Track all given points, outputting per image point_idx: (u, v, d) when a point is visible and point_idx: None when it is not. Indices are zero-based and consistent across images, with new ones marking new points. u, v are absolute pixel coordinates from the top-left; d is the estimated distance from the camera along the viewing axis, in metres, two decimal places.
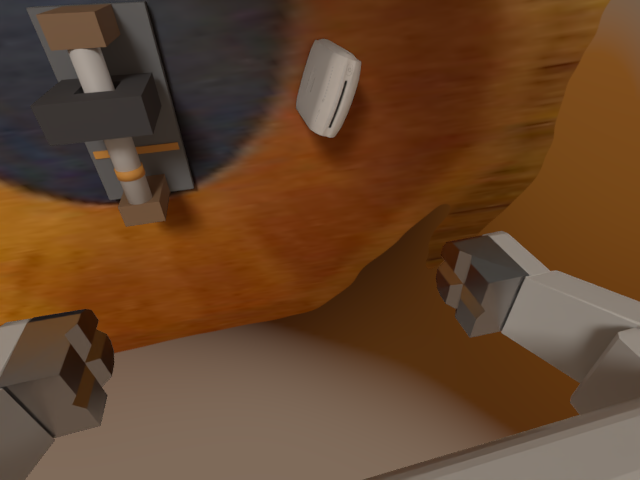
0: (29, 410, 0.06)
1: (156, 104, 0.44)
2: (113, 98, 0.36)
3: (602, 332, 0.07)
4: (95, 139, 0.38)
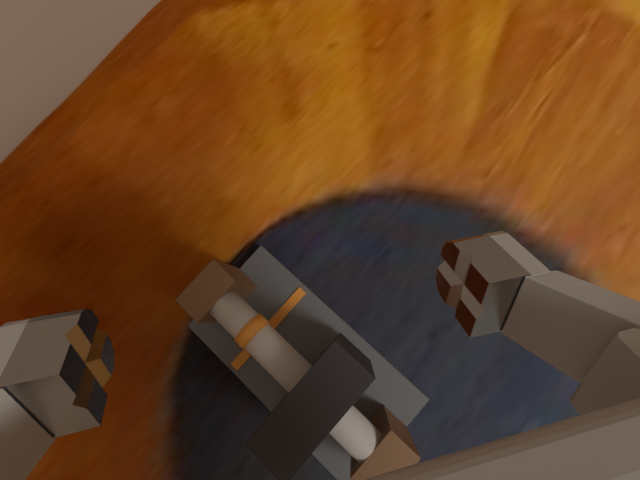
0: (29, 410, 0.06)
1: None
2: (308, 456, 0.27)
3: (602, 332, 0.07)
4: (297, 386, 0.27)
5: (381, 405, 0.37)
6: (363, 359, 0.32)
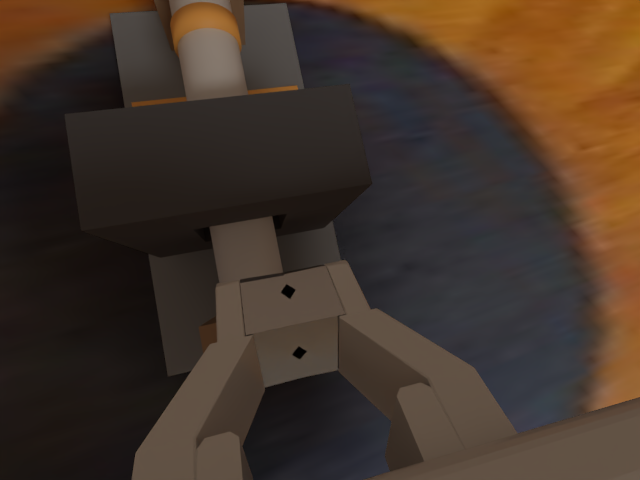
0: (260, 358, 0.07)
1: None
2: (166, 216, 0.12)
3: (405, 382, 0.06)
4: (236, 99, 0.13)
5: None
6: None
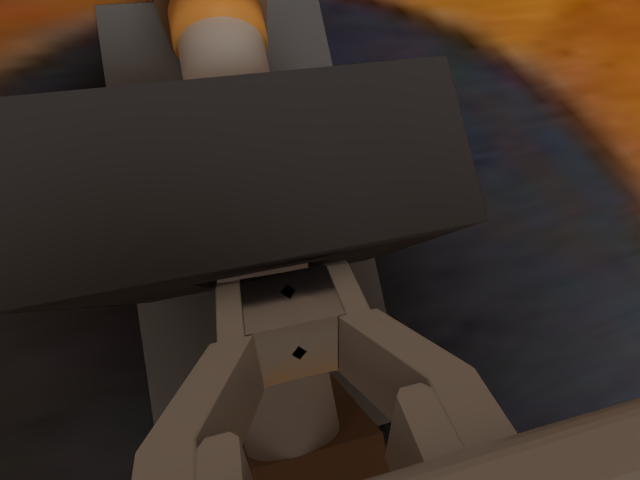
0: (260, 358, 0.07)
1: None
2: (138, 284, 0.07)
3: (405, 382, 0.06)
4: (262, 78, 0.08)
5: None
6: None
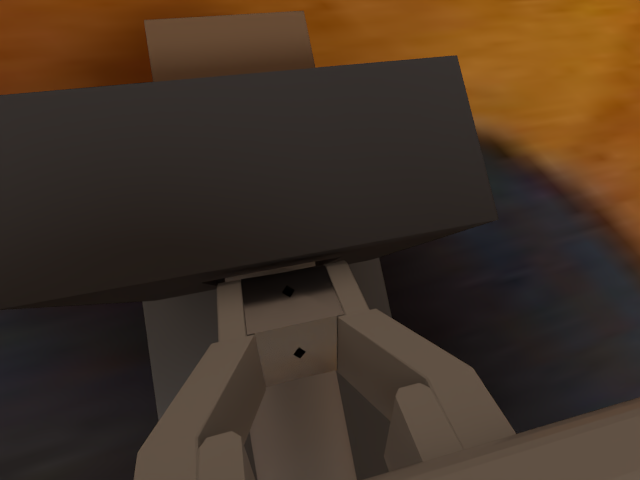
0: (262, 358, 0.07)
1: None
2: (152, 280, 0.07)
3: (404, 383, 0.06)
4: (275, 77, 0.08)
5: None
6: None
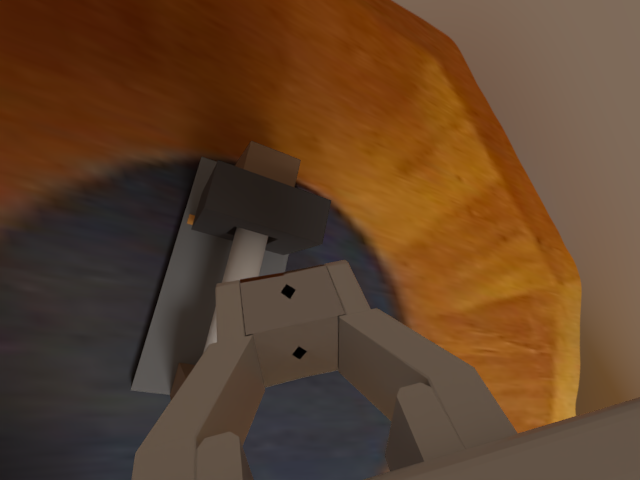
0: (260, 358, 0.07)
1: (203, 194, 0.34)
2: (237, 218, 0.29)
3: (405, 382, 0.06)
4: (284, 185, 0.31)
5: None
6: None
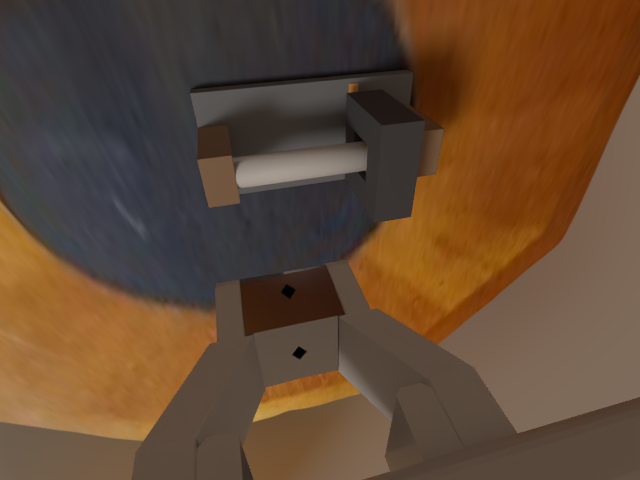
0: (260, 358, 0.07)
1: (383, 98, 0.37)
2: (379, 154, 0.33)
3: (405, 382, 0.06)
4: (415, 179, 0.35)
5: None
6: None
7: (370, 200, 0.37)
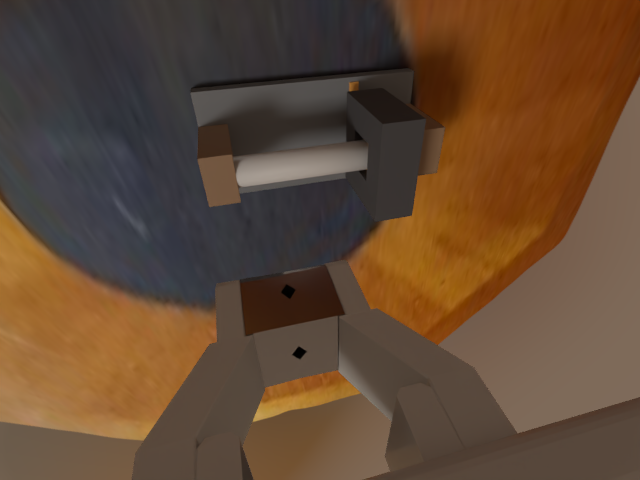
0: (260, 358, 0.07)
1: (383, 97, 0.37)
2: (380, 152, 0.33)
3: (405, 382, 0.06)
4: (415, 177, 0.35)
5: None
6: None
7: (371, 199, 0.37)
